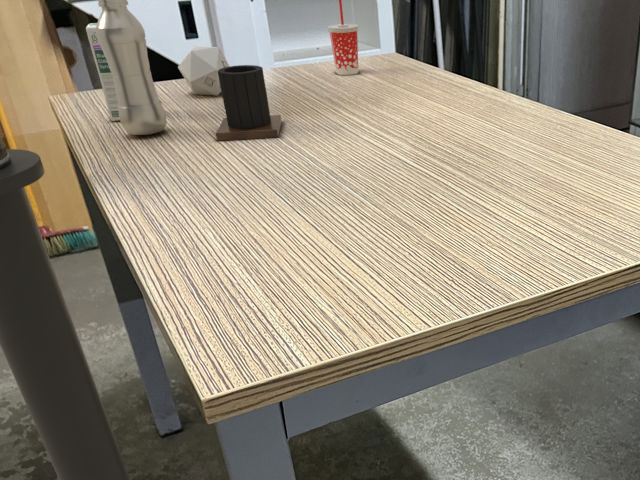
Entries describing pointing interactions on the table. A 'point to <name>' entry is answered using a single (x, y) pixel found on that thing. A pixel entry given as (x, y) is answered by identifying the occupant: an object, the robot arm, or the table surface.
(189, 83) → the die
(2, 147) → the robot arm
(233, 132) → the peg stand
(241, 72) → the black hollow cylinder
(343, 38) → the beverage cup
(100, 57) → the syrup box
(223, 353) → the table surface
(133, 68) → the plastic bottle
